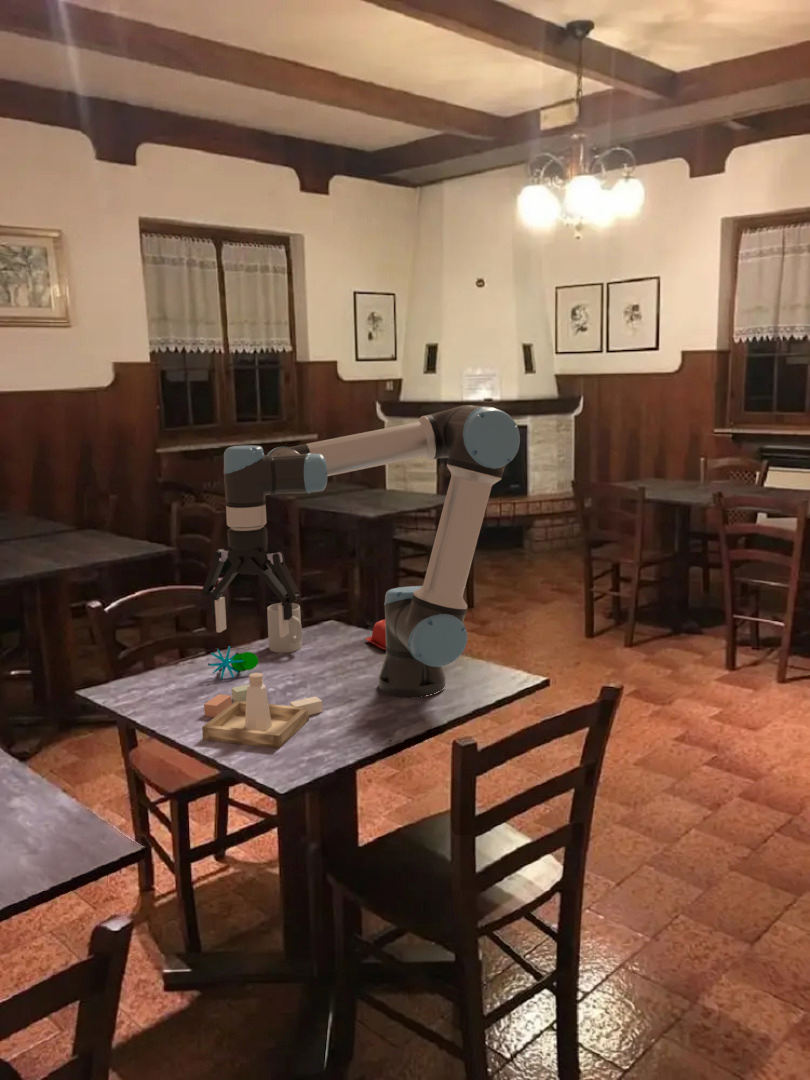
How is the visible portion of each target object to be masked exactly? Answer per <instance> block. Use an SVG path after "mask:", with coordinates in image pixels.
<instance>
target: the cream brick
mask: <svg viewBox="0 0 810 1080" xmlns="http://www.w3.org/2000/svg"><path fill="white" fill-rule="evenodd" d="M289 706H294V707H303V708H309V716H312V715H315V714H319V713H323V700H322V699H320V698H319V697H317V696H316V695H315V696H313V697H312V696H311V697H307V698H302V699H298V700H293V701H290V702H289Z"/></svg>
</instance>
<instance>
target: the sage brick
mask: <svg viewBox="0 0 810 1080" xmlns="http://www.w3.org/2000/svg"><path fill="white" fill-rule="evenodd" d="M248 686H250V683H249V684H248V683H247V684H244V685H239V686H234V687H231V688H230V689H231V699H232V701H233V702H235V701H246V696H247V687H248Z"/></svg>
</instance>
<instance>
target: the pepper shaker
mask: <svg viewBox="0 0 810 1080" xmlns="http://www.w3.org/2000/svg"><path fill="white" fill-rule="evenodd" d="M263 677H264V674H263V673H260V672H252V673H249V675H248V680H249V684H250V686H248V687H247V696H246V714H245V727H246V729H249V730H257V731H264V730H267V729H268V728H270V727H271V726H272V723H271V717H270V710H269V704H270V703H269V698H268V693H267V687H266V685H265V684H264V678H263Z"/></svg>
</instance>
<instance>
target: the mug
mask: <svg viewBox="0 0 810 1080" xmlns="http://www.w3.org/2000/svg"><path fill="white" fill-rule="evenodd" d="M280 603H281V602H279V603H273V604H271V605H269V606H267V608H266V609H267V610H266V611H267V613H266V614H267V633H268V649H269V651H271V652H272V653H273V652H274V653H277V654H278V653H280V654H282V653H283V654H287V653H293V652H296V651H300V650H301V649H302V648H303V644H302V643H303V642H302V640H303V639H302V637H303V628H302V621H301V619H302V617H301V606H300V605H299V604H298V603H295V602H292V618H291V619H289V620H288V623H289V634H288V635H286V636H285V637H280V635H279V613H278V605H279V604H280Z"/></svg>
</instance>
